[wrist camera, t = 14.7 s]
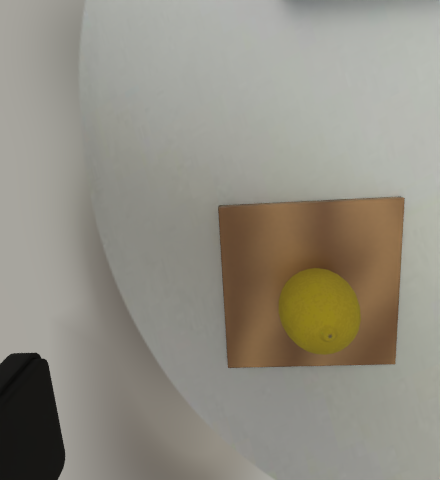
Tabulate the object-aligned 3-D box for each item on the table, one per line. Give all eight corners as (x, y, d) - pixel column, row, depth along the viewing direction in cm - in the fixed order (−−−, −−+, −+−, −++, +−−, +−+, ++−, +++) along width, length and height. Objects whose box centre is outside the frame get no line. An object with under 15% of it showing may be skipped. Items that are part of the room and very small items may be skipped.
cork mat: (228, 363, 36) (228, 368, 35) (218, 205, 32) (218, 207, 31) (392, 359, 35) (395, 364, 34) (400, 196, 31) (404, 197, 30)
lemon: (329, 327, 33) (355, 386, 26) (265, 308, 33) (272, 361, 25) (355, 267, 32) (390, 310, 24) (287, 246, 32) (302, 283, 24)
